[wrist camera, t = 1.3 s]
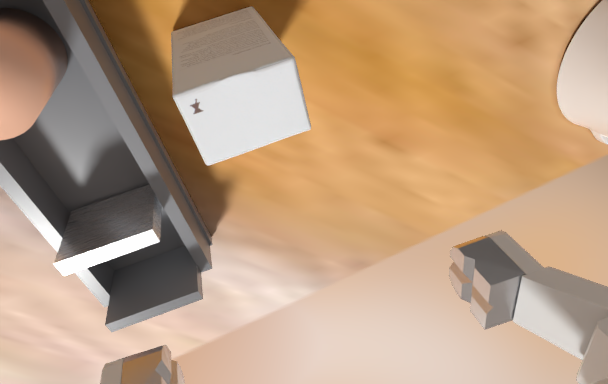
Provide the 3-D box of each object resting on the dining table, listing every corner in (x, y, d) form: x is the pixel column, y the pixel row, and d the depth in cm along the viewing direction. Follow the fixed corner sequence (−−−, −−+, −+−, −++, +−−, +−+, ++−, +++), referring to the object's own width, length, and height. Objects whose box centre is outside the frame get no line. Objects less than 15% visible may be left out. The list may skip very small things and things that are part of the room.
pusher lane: (63, -48, 25) (31, -33, 19) (211, 237, 39) (217, 293, 34) (-106, 4, 24) (-190, 34, 19) (107, 274, 39) (96, 337, 33)
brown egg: (35, -4, 25) (-5, 23, 19) (83, 78, 28) (61, 121, 22) (-52, 23, 25) (-118, 59, 19) (7, 103, 28) (-36, 153, 22)
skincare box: (194, 87, 31) (203, 170, 22) (169, 30, 29) (167, 94, 19) (271, 62, 32) (314, 131, 22) (254, 3, 29) (294, 52, 19)
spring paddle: (155, 182, 33) (152, 229, 28) (162, 193, 34) (160, 241, 29) (71, 211, 33) (53, 264, 28) (79, 222, 33) (64, 275, 29)
